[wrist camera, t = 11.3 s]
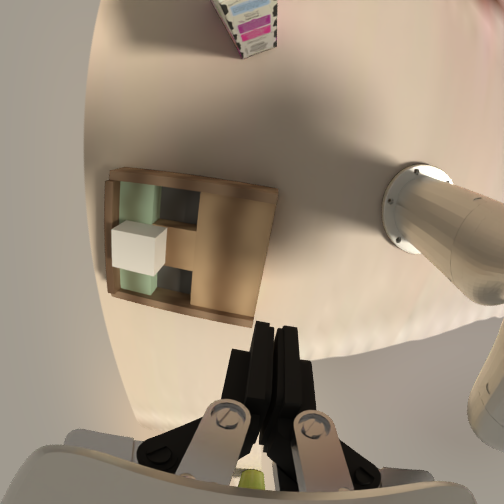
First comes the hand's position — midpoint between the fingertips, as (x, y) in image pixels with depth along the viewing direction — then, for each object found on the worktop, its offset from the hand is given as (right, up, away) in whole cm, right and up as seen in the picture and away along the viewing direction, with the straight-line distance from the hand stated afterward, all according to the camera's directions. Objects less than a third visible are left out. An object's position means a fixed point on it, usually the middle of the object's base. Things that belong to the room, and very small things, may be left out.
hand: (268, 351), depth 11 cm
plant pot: (0, -58, +53) cm, 79 cm away
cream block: (-15, +5, +25) cm, 30 cm away
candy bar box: (-2, +33, +16) cm, 37 cm away
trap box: (-9, +5, +28) cm, 30 cm away
